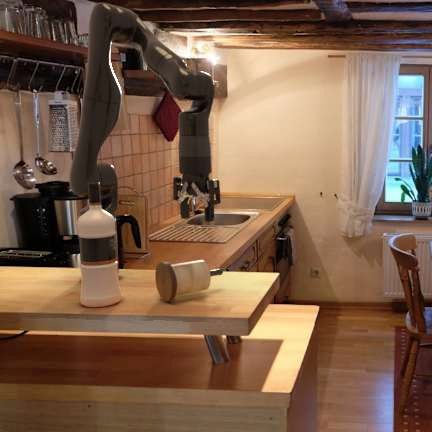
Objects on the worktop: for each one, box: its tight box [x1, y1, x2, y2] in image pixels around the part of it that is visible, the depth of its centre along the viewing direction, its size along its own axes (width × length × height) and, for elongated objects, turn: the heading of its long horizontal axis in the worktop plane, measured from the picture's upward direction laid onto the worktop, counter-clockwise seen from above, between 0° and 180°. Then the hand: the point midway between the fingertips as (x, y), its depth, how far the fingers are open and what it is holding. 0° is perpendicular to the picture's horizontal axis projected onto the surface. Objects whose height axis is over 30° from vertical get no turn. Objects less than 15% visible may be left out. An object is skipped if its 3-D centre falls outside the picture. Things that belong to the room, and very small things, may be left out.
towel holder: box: [154, 259, 224, 303], centre depth 146 cm, size 10×16×10 cm, turn 134°
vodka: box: [76, 182, 123, 308], centre depth 137 cm, size 9×9×30 cm
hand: (197, 219), depth 140 cm, fingers open, 8 cm apart
